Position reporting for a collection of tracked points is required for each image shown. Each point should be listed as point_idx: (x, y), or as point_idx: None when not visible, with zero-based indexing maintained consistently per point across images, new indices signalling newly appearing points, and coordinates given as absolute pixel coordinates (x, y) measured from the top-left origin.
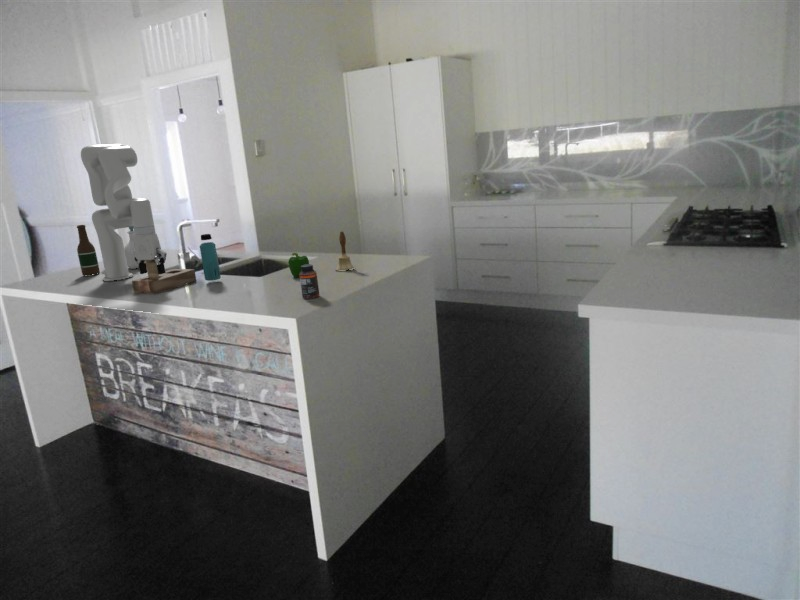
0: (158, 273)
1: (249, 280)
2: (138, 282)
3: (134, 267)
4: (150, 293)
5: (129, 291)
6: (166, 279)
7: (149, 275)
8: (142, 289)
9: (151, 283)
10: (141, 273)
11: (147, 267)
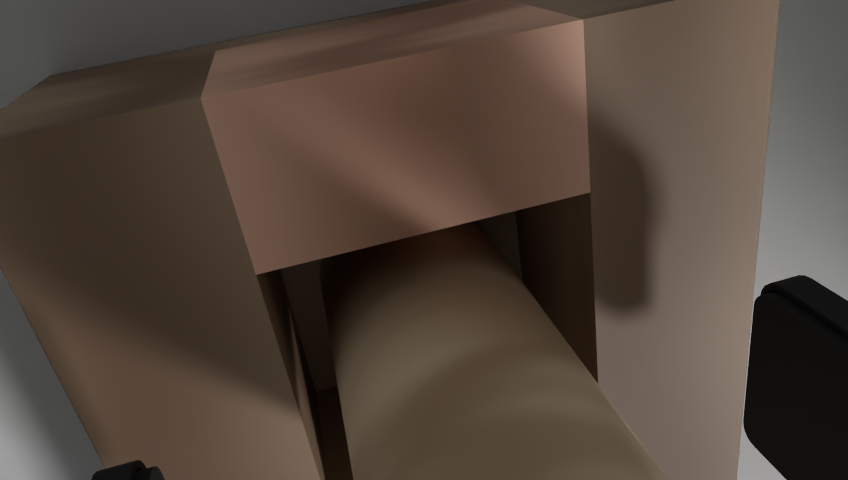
0: (124, 476)
1: None
2: (554, 17)
3: None
4: (218, 44)
5: (816, 28)
6: None
7: (460, 327)
8: (422, 14)
9: (91, 107)
10: (772, 293)
11: None
